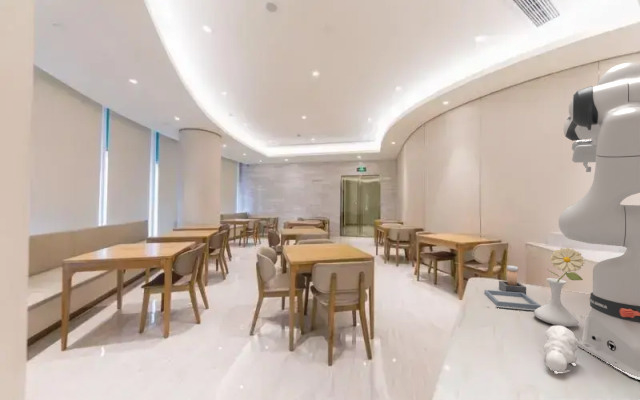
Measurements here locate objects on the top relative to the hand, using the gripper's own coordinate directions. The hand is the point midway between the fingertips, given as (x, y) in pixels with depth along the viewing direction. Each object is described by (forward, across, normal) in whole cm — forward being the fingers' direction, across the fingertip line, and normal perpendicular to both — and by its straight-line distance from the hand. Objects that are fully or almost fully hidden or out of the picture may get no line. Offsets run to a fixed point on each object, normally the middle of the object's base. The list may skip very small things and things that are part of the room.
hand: (604, 171), depth 115 cm
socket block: (+39, -24, -44) cm, 63 cm away
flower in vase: (+29, -7, -64) cm, 70 cm away
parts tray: (+33, -22, -55) cm, 68 cm away
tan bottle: (+38, -24, -44) cm, 63 cm away
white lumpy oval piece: (+15, -5, -92) cm, 93 cm away
